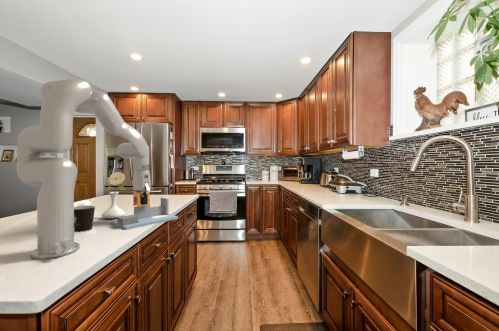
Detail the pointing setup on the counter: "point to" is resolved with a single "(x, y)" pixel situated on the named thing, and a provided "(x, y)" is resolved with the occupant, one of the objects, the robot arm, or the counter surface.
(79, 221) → the coffee mug
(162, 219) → the rail
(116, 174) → the flower in vase
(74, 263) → the counter surface
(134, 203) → the clip
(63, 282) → the counter surface
